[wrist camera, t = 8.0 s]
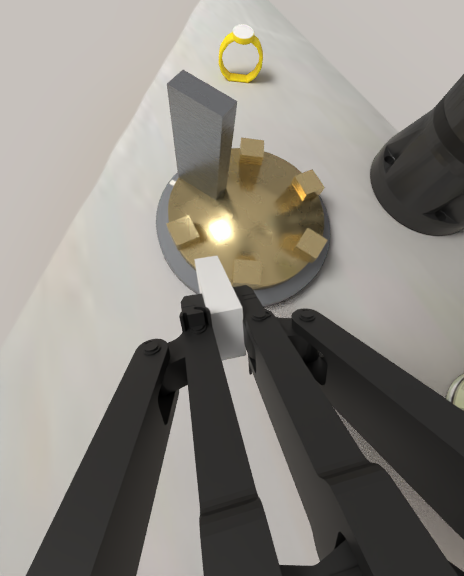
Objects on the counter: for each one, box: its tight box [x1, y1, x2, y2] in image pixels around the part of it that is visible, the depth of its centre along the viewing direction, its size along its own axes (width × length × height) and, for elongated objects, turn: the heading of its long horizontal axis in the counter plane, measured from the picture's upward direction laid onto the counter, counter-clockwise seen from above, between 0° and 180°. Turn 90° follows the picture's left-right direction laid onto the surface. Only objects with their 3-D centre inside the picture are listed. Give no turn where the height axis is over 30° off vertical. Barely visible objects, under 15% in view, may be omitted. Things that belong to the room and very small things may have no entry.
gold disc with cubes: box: [166, 70, 328, 290], centre depth 25 cm, size 17×17×12 cm
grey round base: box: [156, 173, 330, 307], centre depth 32 cm, size 20×20×2 cm
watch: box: [219, 24, 263, 83], centre depth 37 cm, size 6×3×6 cm, turn 90°
